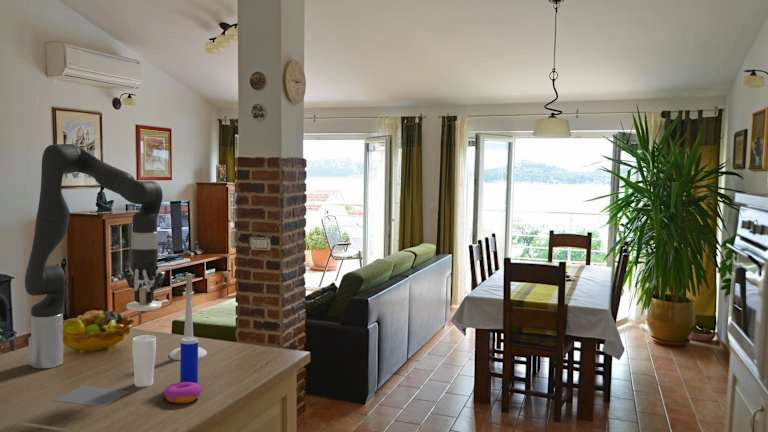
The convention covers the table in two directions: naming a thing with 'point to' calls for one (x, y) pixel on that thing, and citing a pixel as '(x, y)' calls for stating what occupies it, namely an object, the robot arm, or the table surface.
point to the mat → (92, 396)
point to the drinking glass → (144, 359)
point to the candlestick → (188, 321)
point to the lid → (143, 303)
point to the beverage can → (189, 360)
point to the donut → (182, 392)
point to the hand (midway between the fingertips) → (144, 302)
